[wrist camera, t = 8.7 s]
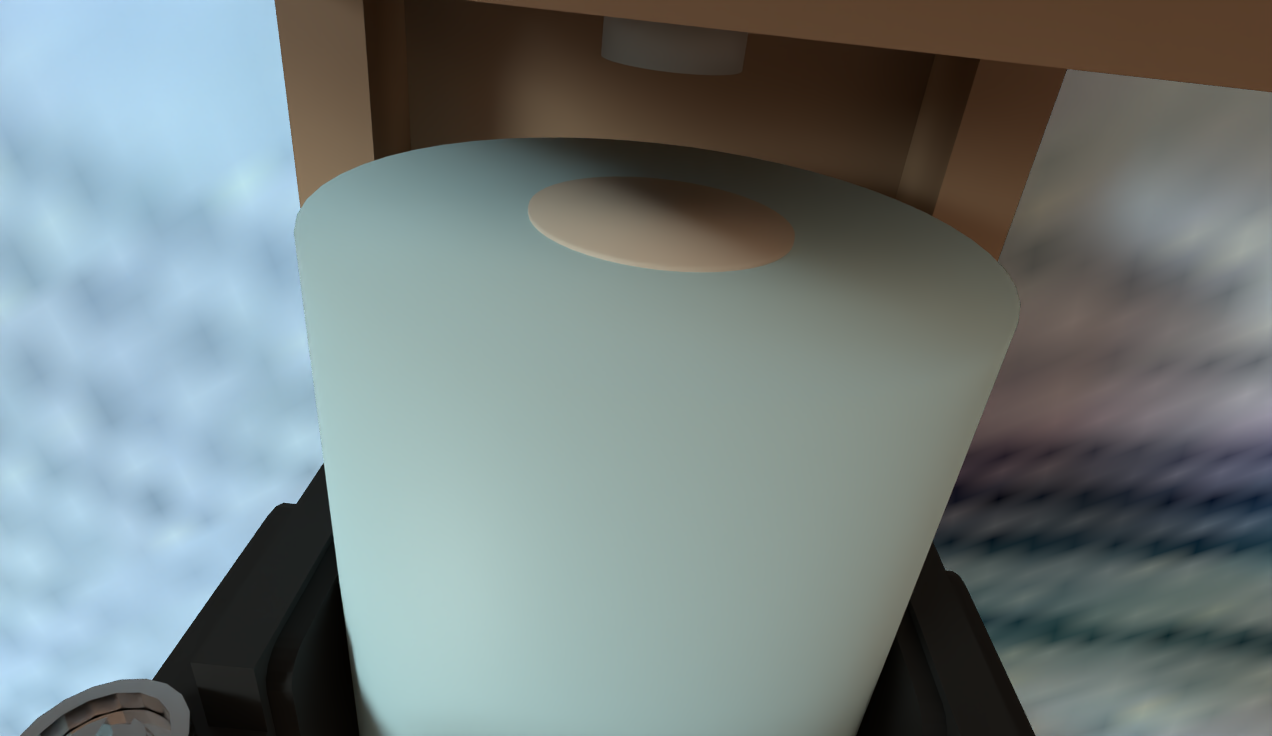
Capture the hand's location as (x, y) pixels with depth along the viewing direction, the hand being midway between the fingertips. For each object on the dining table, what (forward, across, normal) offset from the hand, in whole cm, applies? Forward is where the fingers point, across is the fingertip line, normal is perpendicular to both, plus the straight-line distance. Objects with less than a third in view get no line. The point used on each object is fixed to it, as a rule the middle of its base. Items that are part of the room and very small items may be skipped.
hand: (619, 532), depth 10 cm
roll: (+1, 0, 0) cm, 1 cm away
